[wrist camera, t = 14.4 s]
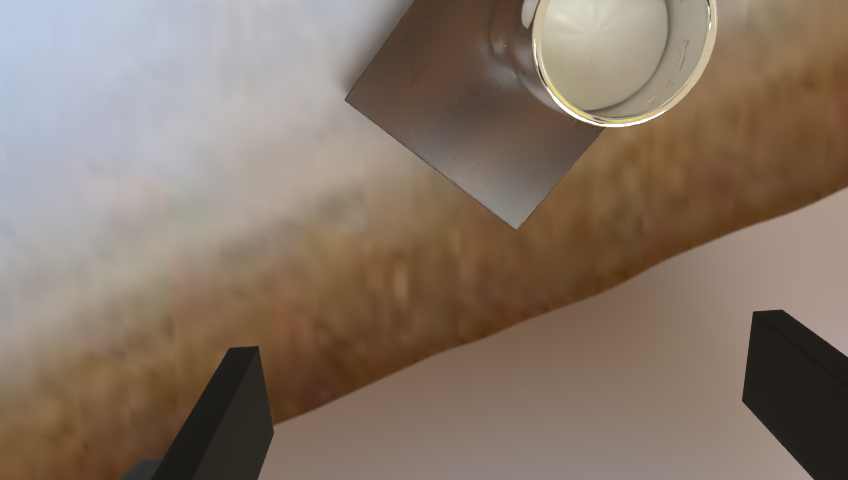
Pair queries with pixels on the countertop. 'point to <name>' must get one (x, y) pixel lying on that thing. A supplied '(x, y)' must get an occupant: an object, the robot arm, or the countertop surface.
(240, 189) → the countertop surface
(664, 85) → the beer glass
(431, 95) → the serving board
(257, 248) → the countertop surface
